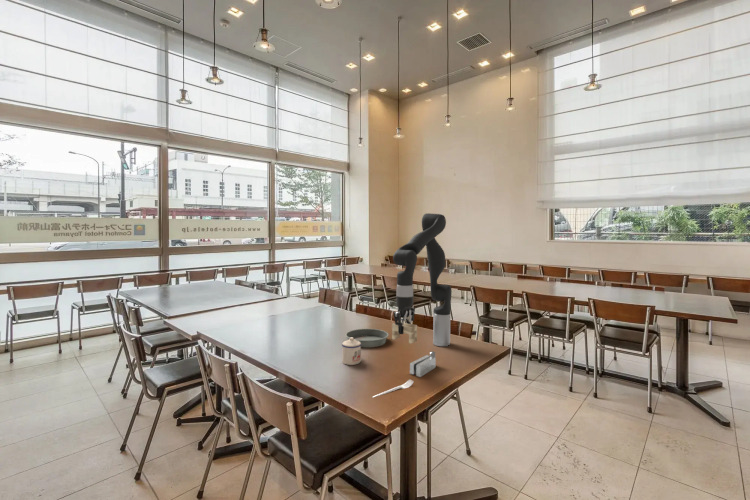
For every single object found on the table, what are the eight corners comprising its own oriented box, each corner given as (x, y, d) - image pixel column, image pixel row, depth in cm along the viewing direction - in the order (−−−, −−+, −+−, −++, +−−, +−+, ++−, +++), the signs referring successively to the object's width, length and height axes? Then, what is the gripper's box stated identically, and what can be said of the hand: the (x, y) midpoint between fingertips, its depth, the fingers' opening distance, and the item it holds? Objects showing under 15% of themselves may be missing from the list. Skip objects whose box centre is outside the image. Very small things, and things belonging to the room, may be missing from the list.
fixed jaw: (431, 366, 165) (431, 356, 165) (435, 367, 164) (435, 357, 164) (416, 376, 154) (416, 365, 154) (420, 377, 153) (420, 366, 152)
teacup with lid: (355, 366, 164) (355, 341, 164) (338, 363, 168) (338, 338, 168) (367, 358, 175) (367, 335, 174) (351, 355, 179) (351, 332, 178)
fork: (369, 397, 135) (369, 392, 135) (409, 383, 147) (409, 378, 147) (375, 401, 132) (374, 396, 132) (414, 386, 144) (414, 381, 144)
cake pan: (389, 336, 214) (389, 328, 214) (387, 349, 190) (387, 341, 190) (349, 334, 217) (349, 327, 216) (341, 347, 192) (341, 339, 192)
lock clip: (398, 336, 165) (398, 321, 165) (416, 340, 159) (417, 325, 159) (392, 339, 161) (392, 323, 161) (410, 343, 155) (410, 327, 155)
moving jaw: (429, 363, 169) (429, 350, 169) (436, 364, 167) (436, 352, 166) (409, 373, 156) (409, 360, 156) (416, 375, 154) (416, 361, 153)
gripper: (402, 298, 151) (402, 337, 152) (420, 293, 162) (420, 330, 163) (388, 296, 156) (388, 334, 157) (406, 291, 167) (406, 327, 168)
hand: (404, 332), depth 160 cm, fingers closed on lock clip, 5 cm apart
